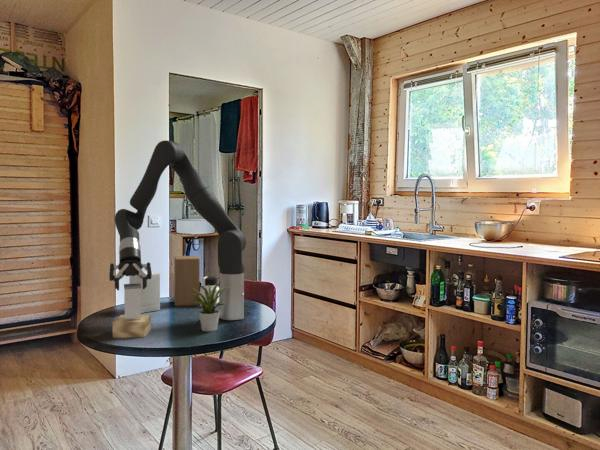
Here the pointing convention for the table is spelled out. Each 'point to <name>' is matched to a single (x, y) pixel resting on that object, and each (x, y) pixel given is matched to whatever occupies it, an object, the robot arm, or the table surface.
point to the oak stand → (131, 327)
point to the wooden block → (186, 280)
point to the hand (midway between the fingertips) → (131, 288)
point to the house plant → (209, 308)
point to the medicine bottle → (212, 282)
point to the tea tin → (132, 301)
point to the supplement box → (149, 292)
